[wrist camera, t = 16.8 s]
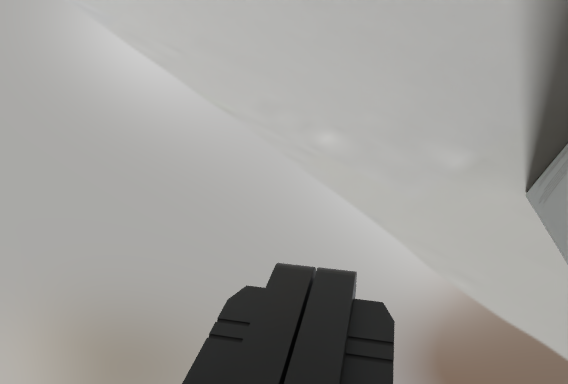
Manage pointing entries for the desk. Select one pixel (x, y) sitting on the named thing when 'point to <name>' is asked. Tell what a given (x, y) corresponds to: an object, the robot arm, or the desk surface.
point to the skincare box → (553, 200)
